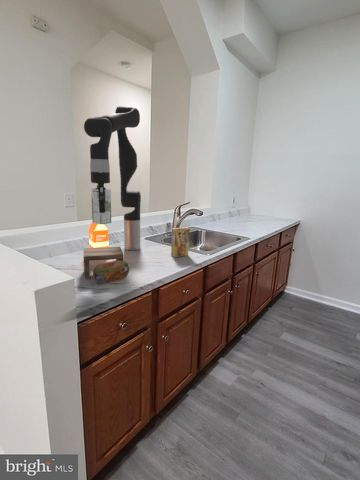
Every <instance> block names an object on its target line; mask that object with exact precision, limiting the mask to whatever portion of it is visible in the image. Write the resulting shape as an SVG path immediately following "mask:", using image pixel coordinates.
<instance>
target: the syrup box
mask: <svg viewBox="0 0 360 480" xmlns="http://www.w3.org/2000/svg"><path fill="white" fill-rule="evenodd" d="M105 188H106V190H105V191H106V199H105V200H106V202H105V203H104V204H105V213H100V212H99V204H100V203H98V200H99V199H98V198H97V193H98V189H96V188H91V189H90V191H91V217H92V219H91V220H92V222H93V223H96V224H100V225H101V224H104V225H107V224H111V223H112V192H111V191H112V190H111V189H110V188H107V187H105ZM98 195H99V194H98ZM100 199H102V198H100ZM92 222H91V223H92Z"/></svg>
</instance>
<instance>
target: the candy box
mask: <svg viewBox="0 0 360 480" xmlns="http://www.w3.org/2000/svg"><path fill="white" fill-rule="evenodd" d="M189 242H190V228H189V227H186V226H184V227H183V226H182V227H172V228H171V245H170V246H171V249H170V250H171V251H170V252H171V253H170V255H171V256H172V257H173V258H178V257H179V258H180V257H185V256H189V246H190V245H189V244H190V243H189Z"/></svg>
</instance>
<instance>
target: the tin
mask: <svg viewBox="0 0 360 480" xmlns="http://www.w3.org/2000/svg"><path fill="white" fill-rule="evenodd" d="M129 272H130V266H129V263H127V261H125V260H123V261H122V260H116V259H114V260H110V261H104V262H100V263H98V264H96V265H95V267H94V268H93V270H92V277H93V279H94V280H95V282H97V283H98V284H100V285H105V284H109V283H113V282H117V281H122V280H124V279H126V278H127V277H128V275H129Z"/></svg>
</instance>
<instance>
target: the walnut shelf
mask: <svg viewBox="0 0 360 480" xmlns="http://www.w3.org/2000/svg"><path fill="white" fill-rule="evenodd" d="M107 260H110V261H112V260H122V261H124V252H123V249H122V247H121V246H109V247H104V248H90V247H89V248H87V247H86V248H83V269H84V270H83V271H84V272H83V273H84V280H90V279H91V271H90V270H91V269H90V262H93V261H107Z"/></svg>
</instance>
